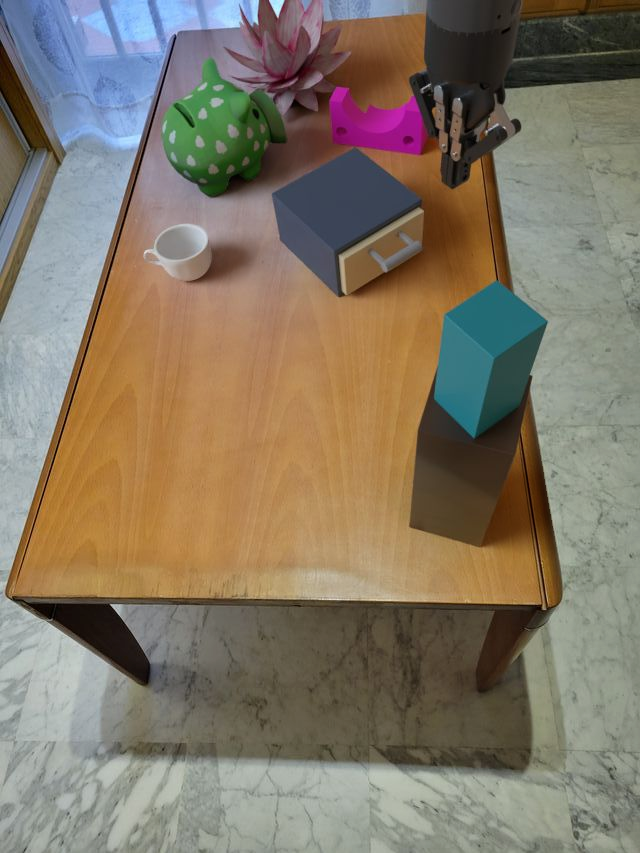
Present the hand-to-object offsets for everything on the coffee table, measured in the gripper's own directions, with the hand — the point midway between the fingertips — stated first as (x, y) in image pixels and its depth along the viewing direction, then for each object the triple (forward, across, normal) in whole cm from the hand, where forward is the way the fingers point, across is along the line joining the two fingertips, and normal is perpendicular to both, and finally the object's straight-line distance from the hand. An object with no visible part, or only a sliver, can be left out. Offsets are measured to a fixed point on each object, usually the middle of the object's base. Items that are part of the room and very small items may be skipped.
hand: (454, 182), depth 65 cm
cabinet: (+23, -20, 0) cm, 30 cm away
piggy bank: (+23, -46, -5) cm, 52 cm away
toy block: (+23, -36, +19) cm, 47 cm away
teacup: (+23, -32, -22) cm, 45 cm away
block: (+1, +21, -16) cm, 26 cm away
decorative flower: (+23, -56, +15) cm, 63 cm away
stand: (+23, +21, -16) cm, 35 cm away
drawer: (+22, -16, 0) cm, 27 cm away
